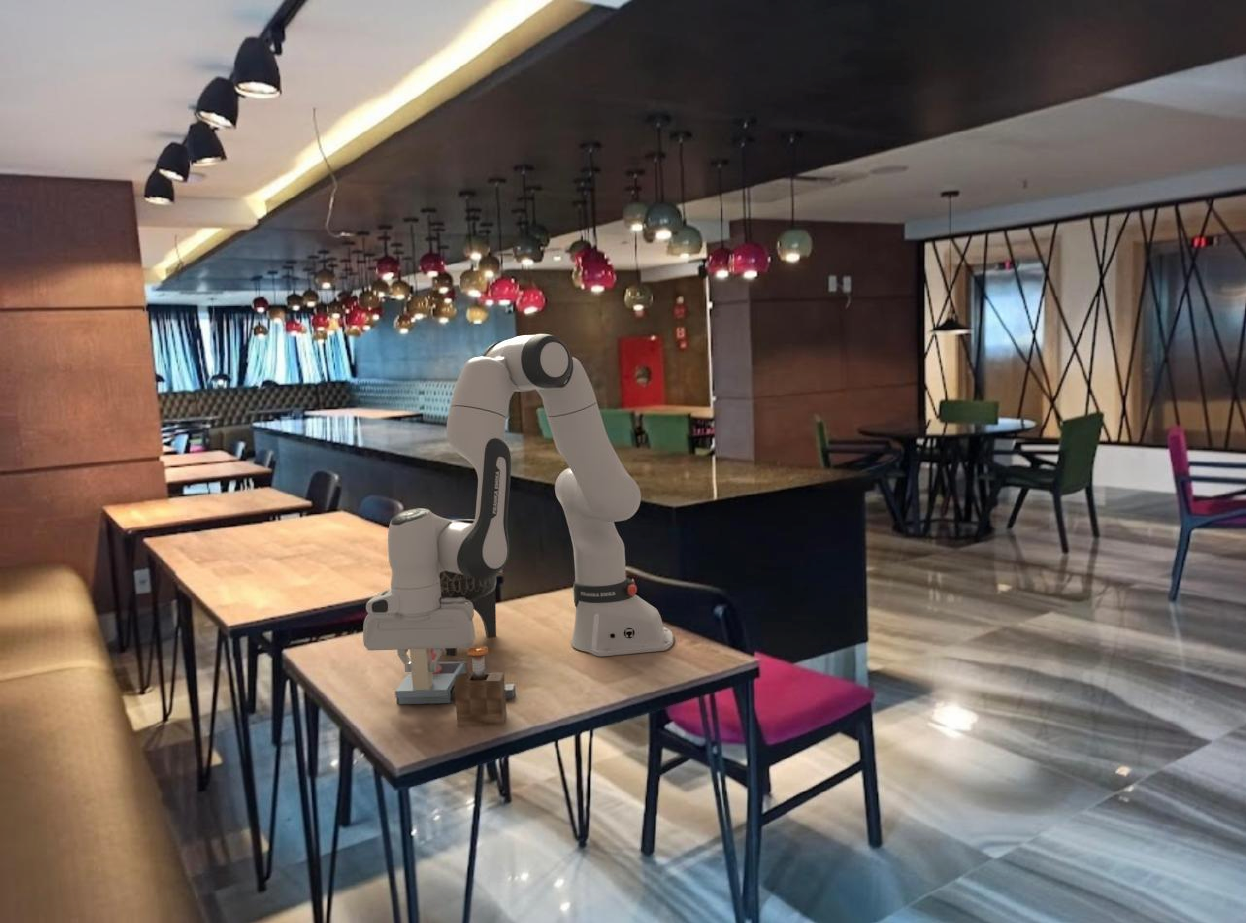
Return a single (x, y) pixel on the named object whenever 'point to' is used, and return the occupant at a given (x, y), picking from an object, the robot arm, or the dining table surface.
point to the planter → (472, 596)
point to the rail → (508, 692)
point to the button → (478, 661)
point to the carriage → (428, 680)
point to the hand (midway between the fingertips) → (422, 670)
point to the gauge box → (480, 700)
